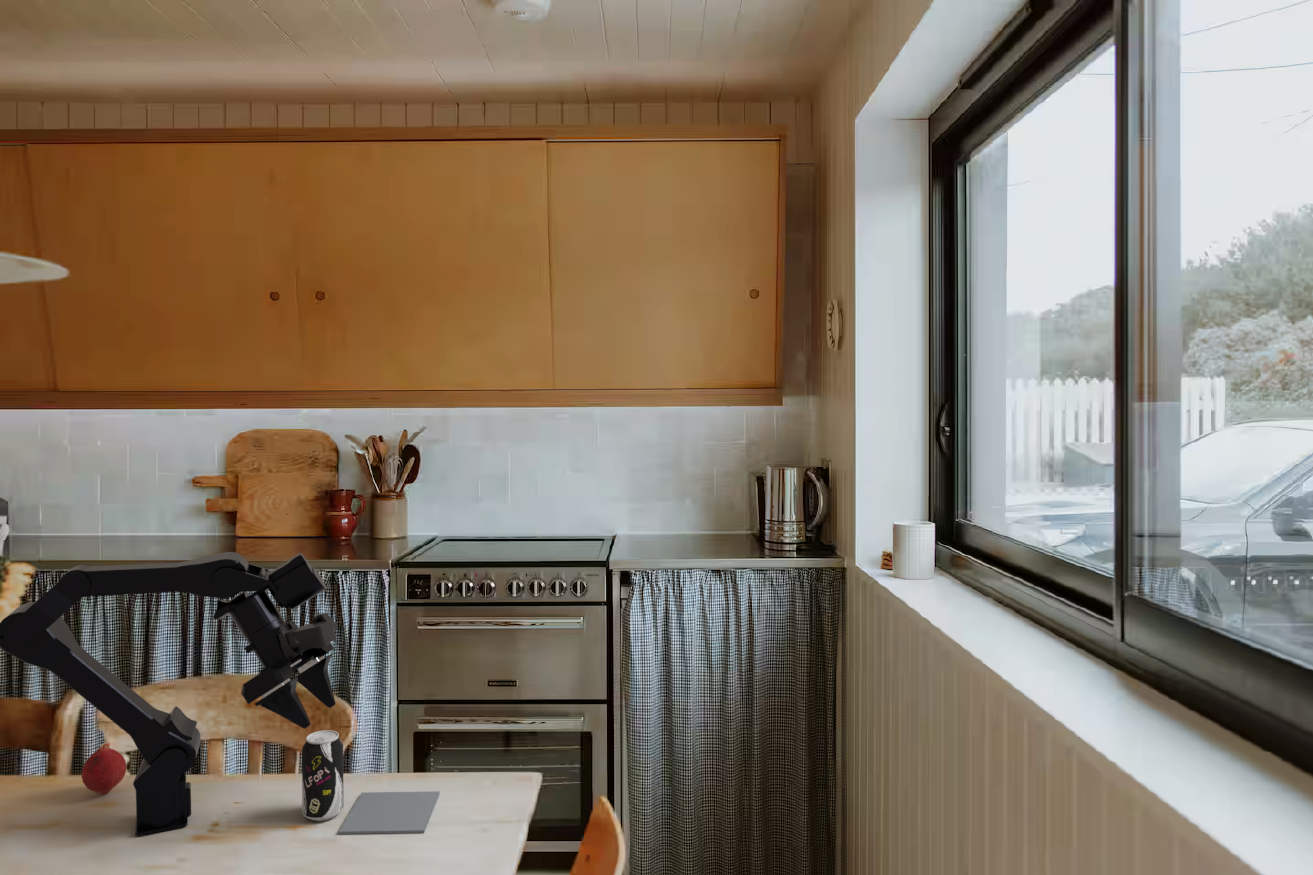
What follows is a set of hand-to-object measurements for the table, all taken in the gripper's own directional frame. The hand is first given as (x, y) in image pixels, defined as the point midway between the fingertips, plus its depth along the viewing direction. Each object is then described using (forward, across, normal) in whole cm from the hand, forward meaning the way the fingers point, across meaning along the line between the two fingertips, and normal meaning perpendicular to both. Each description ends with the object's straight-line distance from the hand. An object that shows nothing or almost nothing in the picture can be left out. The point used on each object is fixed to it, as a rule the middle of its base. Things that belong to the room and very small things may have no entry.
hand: (320, 716), depth 129 cm
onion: (-8, +5, +38) cm, 39 cm away
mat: (+18, +1, -1) cm, 18 cm away
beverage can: (+13, 0, +8) cm, 15 cm away
